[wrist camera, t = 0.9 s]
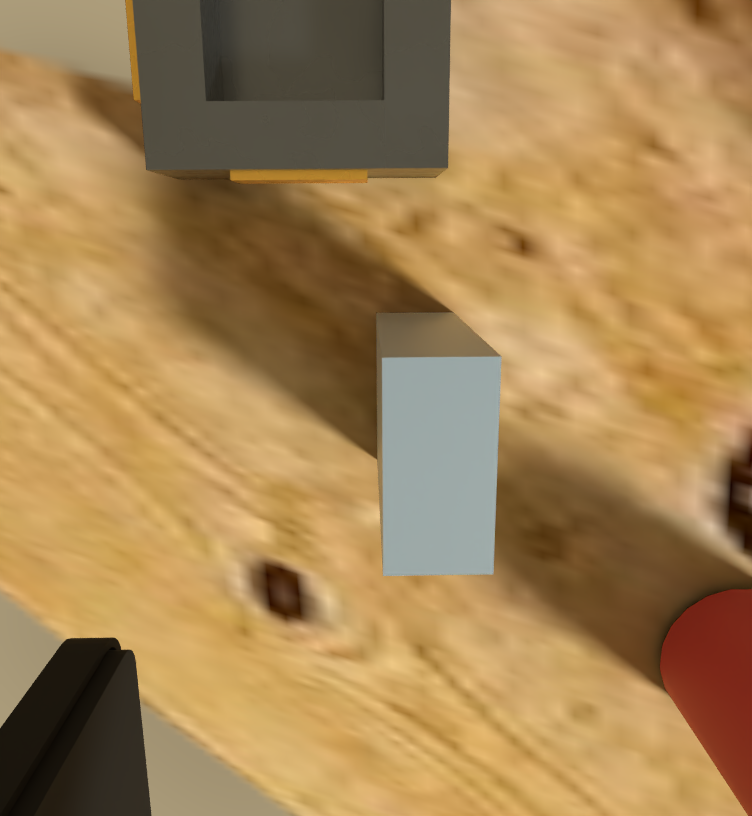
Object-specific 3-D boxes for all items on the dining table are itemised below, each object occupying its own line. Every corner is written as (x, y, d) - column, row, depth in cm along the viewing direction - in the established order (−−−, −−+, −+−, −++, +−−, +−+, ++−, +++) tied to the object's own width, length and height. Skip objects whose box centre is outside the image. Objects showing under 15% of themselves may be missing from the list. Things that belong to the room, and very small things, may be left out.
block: (453, 312, 27) (501, 356, 18) (450, 458, 29) (493, 574, 19) (376, 312, 27) (381, 357, 18) (377, 459, 29) (382, 575, 19)
